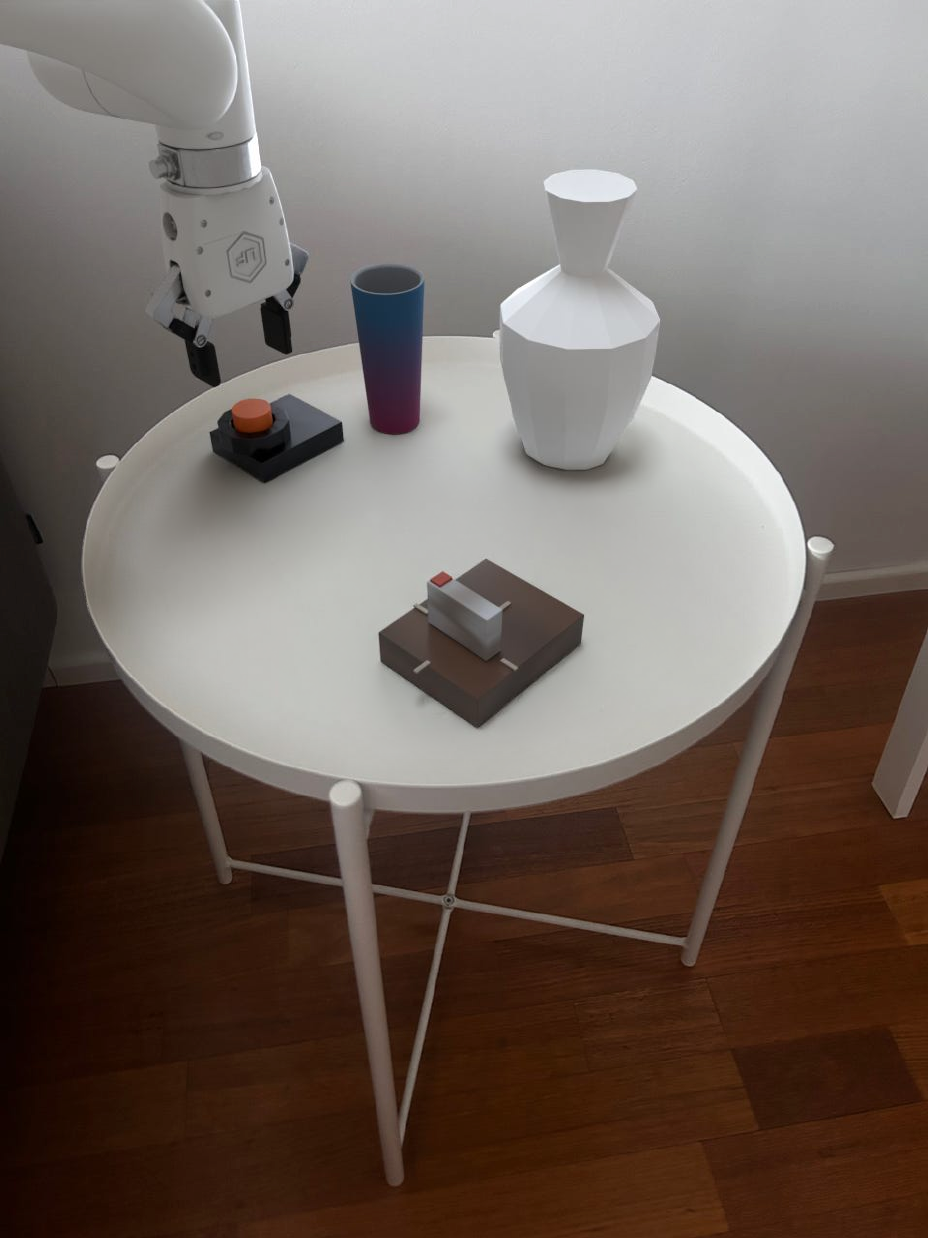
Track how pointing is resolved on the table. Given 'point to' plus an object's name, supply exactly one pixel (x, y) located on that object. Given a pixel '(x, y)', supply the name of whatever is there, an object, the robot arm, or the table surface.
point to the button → (252, 415)
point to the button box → (278, 439)
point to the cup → (390, 342)
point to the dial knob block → (462, 678)
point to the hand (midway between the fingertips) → (244, 363)
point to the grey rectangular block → (464, 615)
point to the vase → (578, 330)
